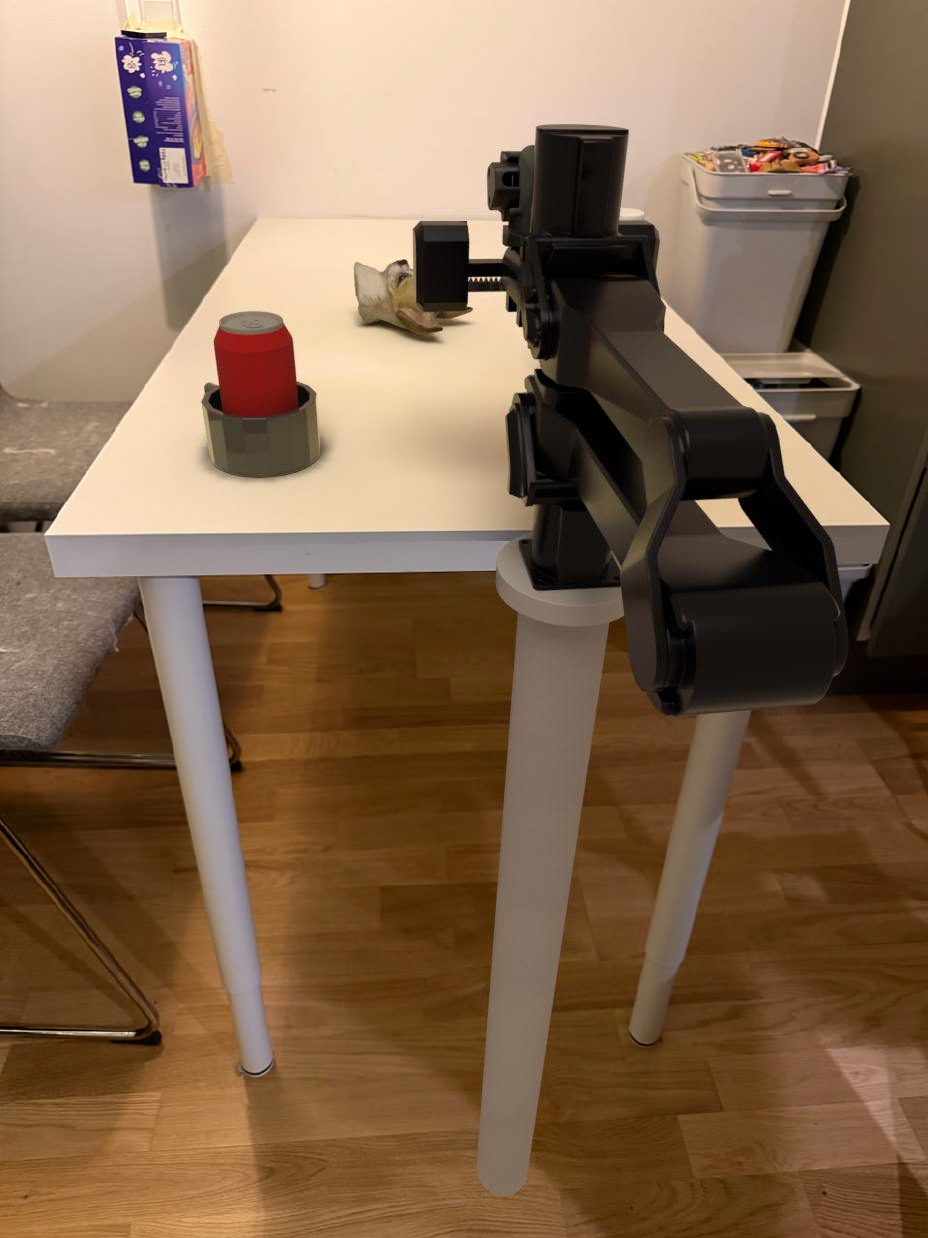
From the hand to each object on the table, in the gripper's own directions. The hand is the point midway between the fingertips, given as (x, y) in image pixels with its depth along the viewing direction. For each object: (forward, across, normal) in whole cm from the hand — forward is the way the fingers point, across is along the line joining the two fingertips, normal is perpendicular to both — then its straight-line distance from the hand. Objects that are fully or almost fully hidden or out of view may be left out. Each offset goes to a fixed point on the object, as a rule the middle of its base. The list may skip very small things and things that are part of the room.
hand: (513, 243), depth 74 cm
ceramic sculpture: (+38, +6, +18) cm, 42 cm away
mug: (+2, +23, +18) cm, 30 cm away
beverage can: (0, +22, +18) cm, 29 cm away
